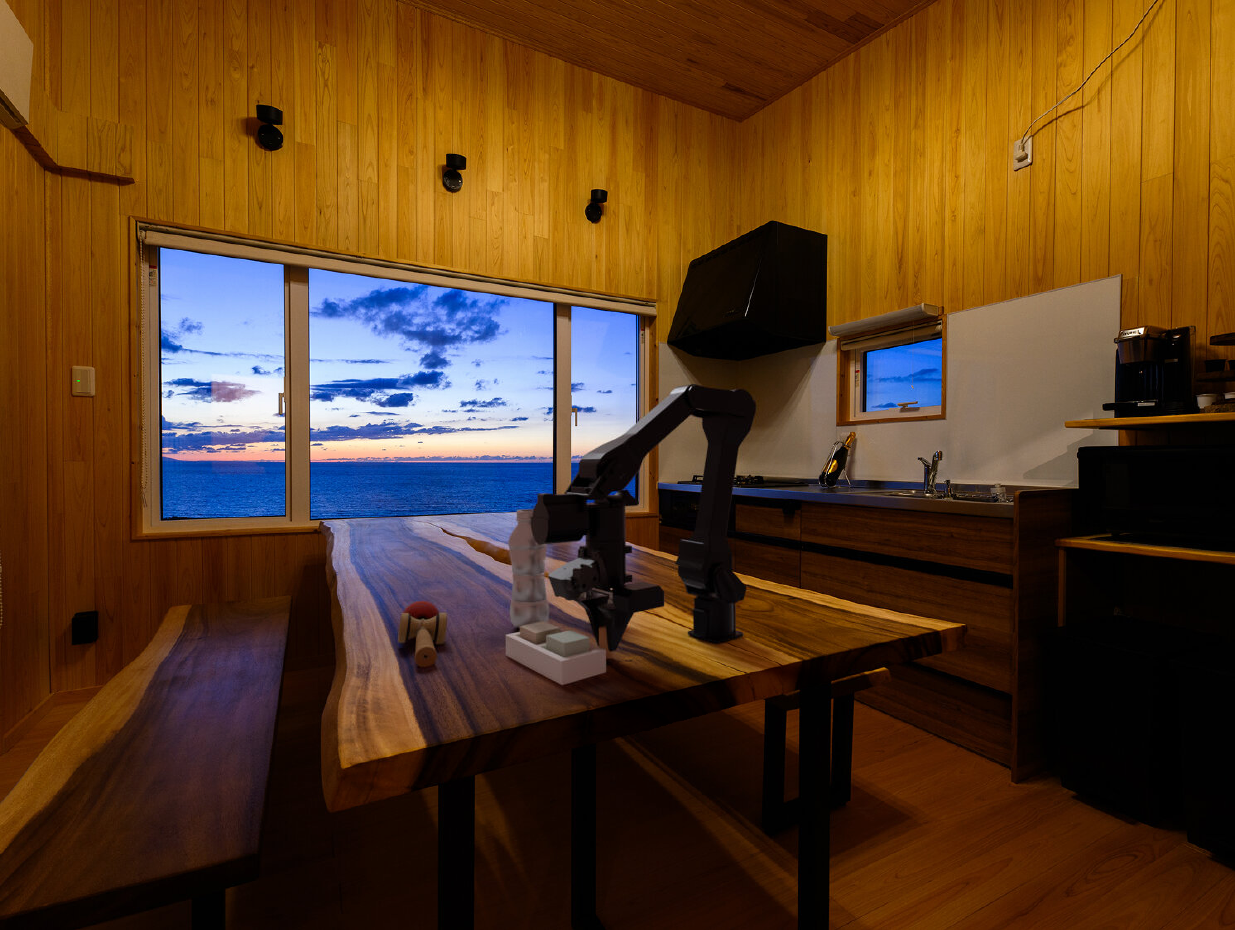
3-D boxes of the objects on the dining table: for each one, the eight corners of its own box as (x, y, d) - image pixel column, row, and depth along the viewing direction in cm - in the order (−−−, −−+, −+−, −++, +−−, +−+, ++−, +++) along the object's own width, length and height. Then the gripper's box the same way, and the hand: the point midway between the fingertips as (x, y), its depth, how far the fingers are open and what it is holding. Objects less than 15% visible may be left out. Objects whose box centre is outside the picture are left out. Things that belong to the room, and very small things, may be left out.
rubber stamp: (603, 654, 86) (603, 623, 86) (622, 662, 83) (622, 629, 83) (546, 668, 80) (546, 635, 80) (564, 677, 77) (564, 643, 77)
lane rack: (546, 645, 91) (546, 625, 91) (606, 672, 79) (605, 649, 79) (505, 655, 86) (505, 634, 86) (561, 685, 75) (561, 661, 75)
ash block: (543, 651, 88) (543, 621, 88) (560, 658, 85) (559, 627, 85) (520, 657, 86) (519, 626, 86) (536, 665, 82) (535, 633, 82)
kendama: (460, 671, 84) (447, 622, 101) (452, 630, 83) (440, 587, 99) (403, 689, 81) (399, 635, 98) (394, 647, 80) (391, 600, 97)
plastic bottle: (542, 633, 97) (540, 511, 97) (503, 631, 98) (501, 511, 98) (554, 622, 103) (552, 508, 103) (517, 621, 105) (516, 508, 104)
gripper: (522, 537, 86) (524, 644, 86) (598, 552, 72) (600, 681, 72) (585, 531, 93) (586, 630, 93) (666, 543, 78) (667, 660, 79)
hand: (606, 648), depth 84 cm, fingers closed on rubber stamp, 2 cm apart
